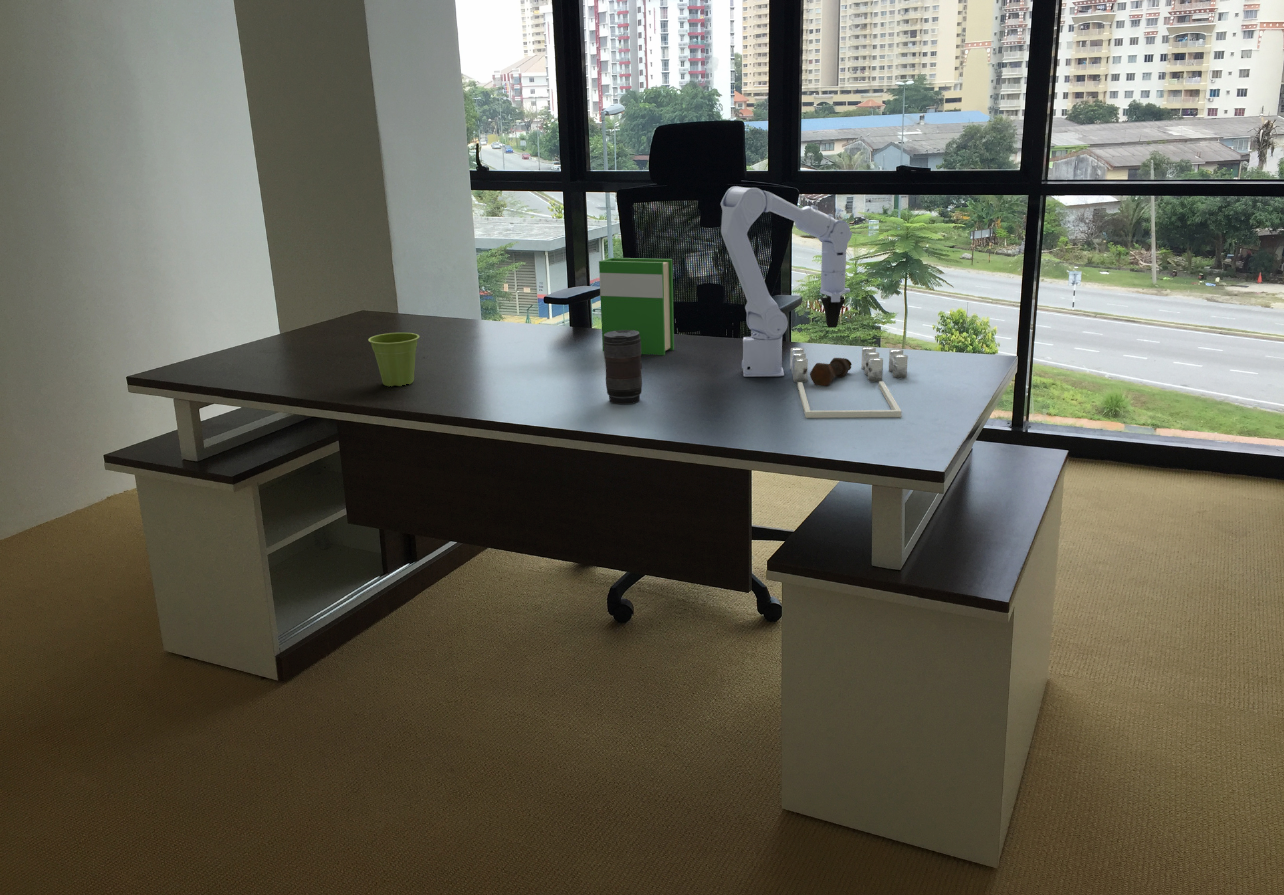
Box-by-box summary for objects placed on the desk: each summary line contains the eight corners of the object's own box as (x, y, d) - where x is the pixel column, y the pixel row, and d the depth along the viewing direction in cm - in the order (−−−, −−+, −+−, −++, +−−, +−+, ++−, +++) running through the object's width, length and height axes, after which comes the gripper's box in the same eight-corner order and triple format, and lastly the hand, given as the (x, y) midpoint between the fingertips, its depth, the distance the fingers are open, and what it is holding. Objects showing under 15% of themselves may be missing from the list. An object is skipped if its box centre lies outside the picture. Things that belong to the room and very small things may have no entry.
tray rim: (805, 417, 207) (805, 411, 207) (797, 387, 231) (797, 382, 230) (901, 417, 205) (901, 411, 205) (883, 386, 229) (883, 381, 229)
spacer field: (793, 382, 235) (794, 361, 234) (789, 367, 249) (790, 347, 248) (909, 381, 233) (911, 360, 231) (899, 366, 247) (900, 346, 246)
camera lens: (606, 396, 228) (604, 329, 224) (643, 395, 228) (641, 329, 223) (604, 405, 221) (601, 337, 216) (642, 405, 220) (640, 336, 216)
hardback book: (674, 349, 274) (672, 259, 267) (664, 355, 267) (661, 262, 260) (614, 346, 280) (610, 257, 273) (602, 351, 274) (598, 261, 267)
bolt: (848, 380, 244) (823, 392, 232) (831, 368, 245) (805, 379, 233) (860, 360, 241) (836, 371, 229) (843, 348, 243) (818, 358, 230)
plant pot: (363, 388, 243) (357, 341, 239) (391, 376, 253) (386, 331, 250) (406, 391, 239) (401, 343, 235) (433, 379, 249) (428, 333, 246)
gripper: (853, 274, 237) (852, 332, 241) (847, 266, 251) (845, 321, 255) (823, 275, 237) (821, 333, 241) (817, 266, 251) (816, 321, 255)
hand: (831, 327), depth 248 cm, fingers closed
